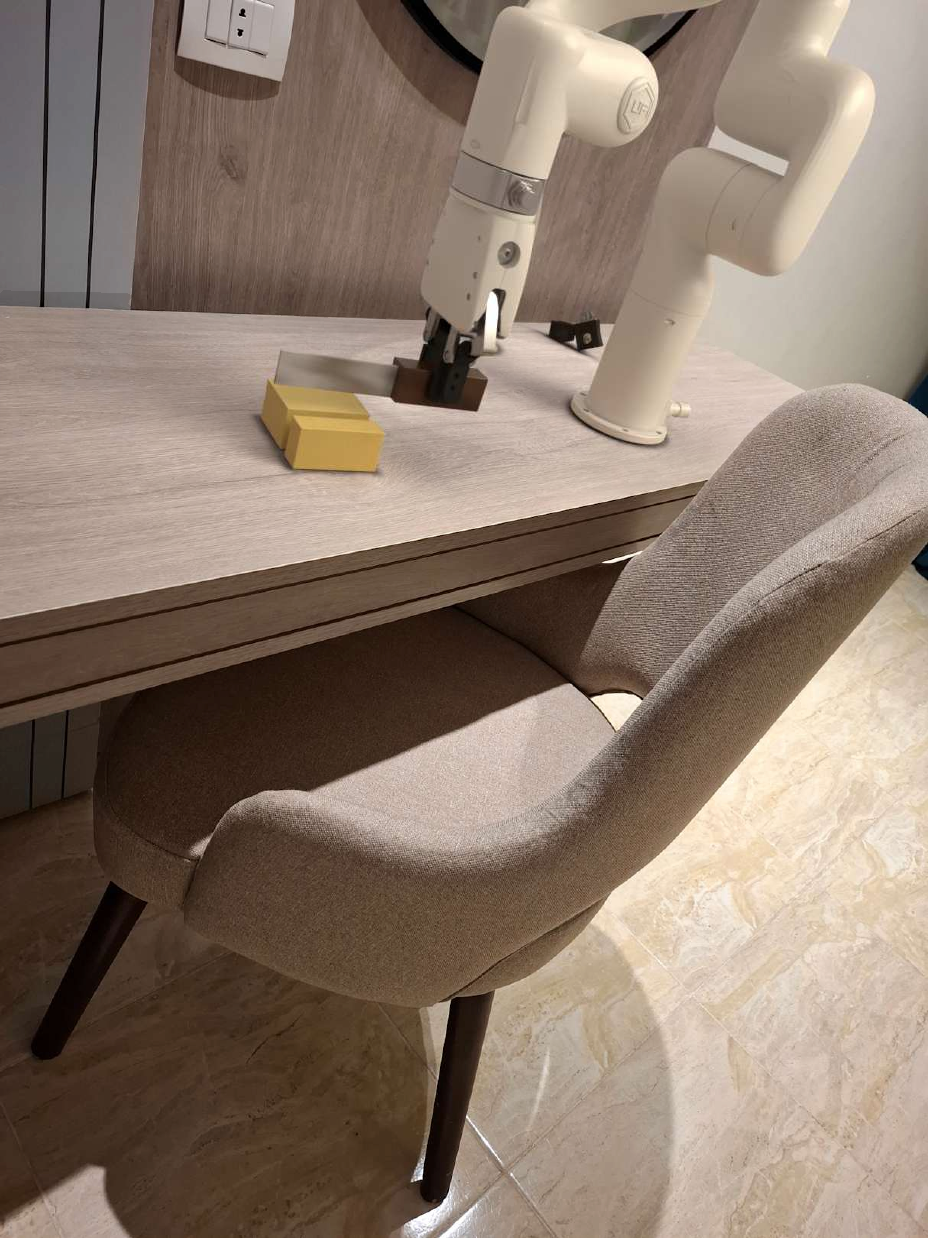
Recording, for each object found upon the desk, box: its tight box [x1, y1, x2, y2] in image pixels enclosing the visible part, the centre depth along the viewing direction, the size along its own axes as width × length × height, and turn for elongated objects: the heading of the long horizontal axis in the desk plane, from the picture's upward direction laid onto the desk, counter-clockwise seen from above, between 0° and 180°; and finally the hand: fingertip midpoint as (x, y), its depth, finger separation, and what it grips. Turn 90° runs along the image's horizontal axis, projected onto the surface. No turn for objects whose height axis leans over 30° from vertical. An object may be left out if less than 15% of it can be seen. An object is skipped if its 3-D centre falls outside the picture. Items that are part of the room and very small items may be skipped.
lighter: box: [548, 311, 604, 352], centre depth 134 cm, size 8×2×5 cm
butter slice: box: [284, 415, 386, 473], centre depth 81 cm, size 8×2×4 cm, turn 117°
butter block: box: [260, 378, 371, 450], centre depth 84 cm, size 8×6×4 cm
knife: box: [274, 348, 489, 413], centre depth 81 cm, size 20×2×3 cm, turn 117°
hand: (435, 392), depth 84 cm, fingers closed on knife, 2 cm apart
